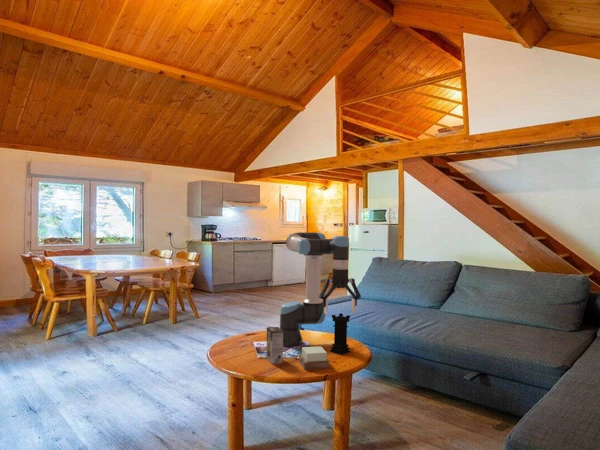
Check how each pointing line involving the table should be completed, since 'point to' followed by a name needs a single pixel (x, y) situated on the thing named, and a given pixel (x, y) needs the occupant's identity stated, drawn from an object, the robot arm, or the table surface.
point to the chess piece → (340, 335)
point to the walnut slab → (313, 364)
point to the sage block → (314, 354)
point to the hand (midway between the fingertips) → (339, 313)
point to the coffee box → (274, 345)
